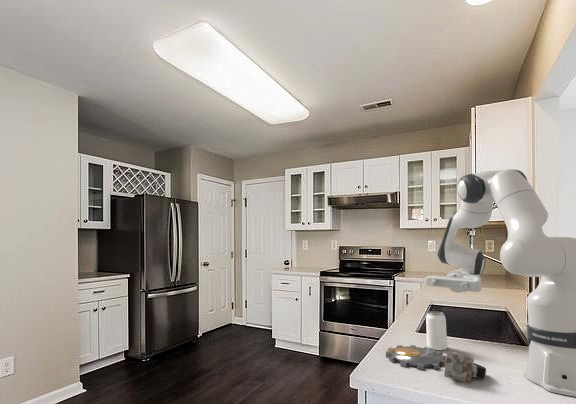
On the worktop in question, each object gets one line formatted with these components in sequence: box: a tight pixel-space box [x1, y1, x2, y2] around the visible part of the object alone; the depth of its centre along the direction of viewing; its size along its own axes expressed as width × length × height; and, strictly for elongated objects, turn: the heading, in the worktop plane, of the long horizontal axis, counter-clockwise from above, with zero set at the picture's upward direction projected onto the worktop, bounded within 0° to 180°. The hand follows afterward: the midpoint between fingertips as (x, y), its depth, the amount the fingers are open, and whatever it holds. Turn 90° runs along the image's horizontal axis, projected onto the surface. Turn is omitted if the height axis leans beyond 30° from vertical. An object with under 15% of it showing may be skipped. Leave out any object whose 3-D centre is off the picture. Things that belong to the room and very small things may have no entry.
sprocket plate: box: [385, 344, 447, 371], centre depth 112 cm, size 19×19×1 cm
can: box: [425, 310, 448, 352], centre depth 122 cm, size 6×6×12 cm
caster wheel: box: [443, 351, 487, 385], centre depth 98 cm, size 7×11×10 cm
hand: (446, 285), depth 132 cm, fingers open, 8 cm apart
